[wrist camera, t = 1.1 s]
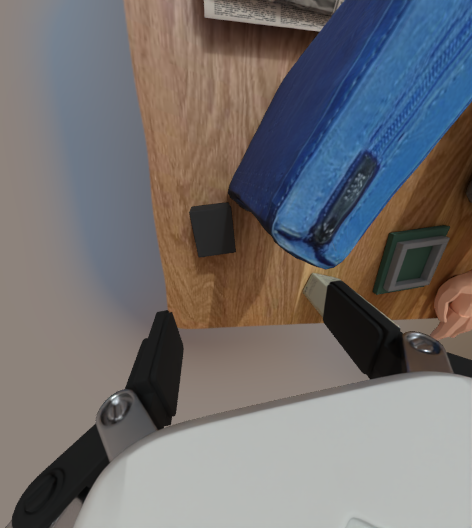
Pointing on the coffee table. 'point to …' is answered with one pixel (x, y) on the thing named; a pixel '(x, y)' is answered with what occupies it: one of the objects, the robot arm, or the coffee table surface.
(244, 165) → the blue piped fabric case
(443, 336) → the male figurine
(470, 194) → the alarm clock
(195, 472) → the robot arm
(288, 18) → the newspaper
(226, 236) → the black block
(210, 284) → the coffee table surface
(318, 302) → the cosmetic box
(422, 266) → the base pad
